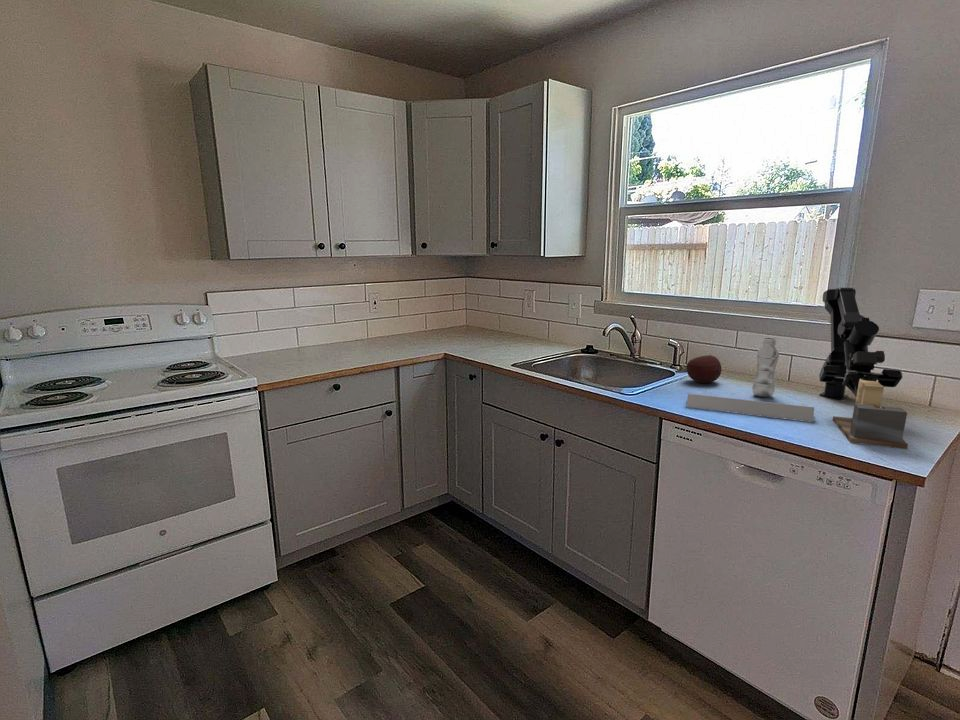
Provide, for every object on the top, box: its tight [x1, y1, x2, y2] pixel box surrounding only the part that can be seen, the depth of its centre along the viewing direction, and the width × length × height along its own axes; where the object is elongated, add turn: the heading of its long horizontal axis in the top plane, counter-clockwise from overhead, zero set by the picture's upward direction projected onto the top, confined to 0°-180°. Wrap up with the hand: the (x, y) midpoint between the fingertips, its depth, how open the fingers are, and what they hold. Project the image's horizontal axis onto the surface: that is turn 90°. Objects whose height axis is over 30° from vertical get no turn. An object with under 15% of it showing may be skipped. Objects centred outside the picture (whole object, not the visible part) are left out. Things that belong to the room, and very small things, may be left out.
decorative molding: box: [686, 393, 815, 423], centre depth 158 cm, size 34×5×10 cm
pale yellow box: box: [854, 379, 885, 408], centre depth 138 cm, size 8×4×12 cm, turn 157°
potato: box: [686, 354, 722, 384], centre depth 188 cm, size 11×13×10 cm
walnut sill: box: [832, 403, 909, 450], centre depth 136 cm, size 18×12×9 cm, turn 157°
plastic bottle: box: [751, 337, 780, 398], centre depth 169 cm, size 6×7×20 cm
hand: (862, 401), depth 143 cm, fingers closed
